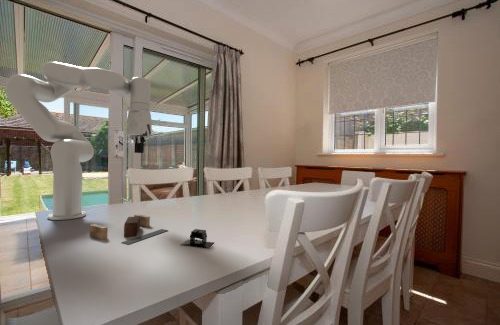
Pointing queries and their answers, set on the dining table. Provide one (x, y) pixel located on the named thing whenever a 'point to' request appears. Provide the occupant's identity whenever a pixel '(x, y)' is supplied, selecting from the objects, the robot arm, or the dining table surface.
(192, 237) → the black arch bracket
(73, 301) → the dining table surface
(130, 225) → the brick
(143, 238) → the dark grey flat strip
